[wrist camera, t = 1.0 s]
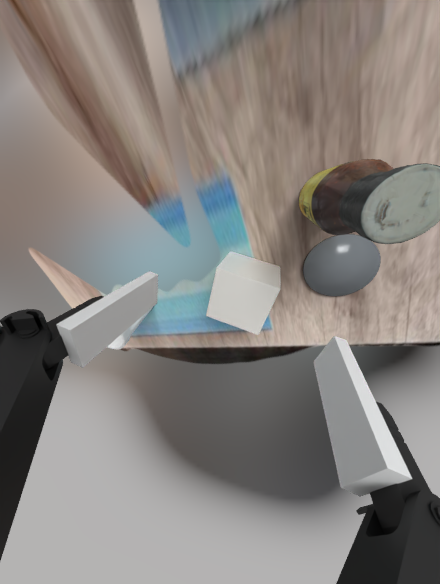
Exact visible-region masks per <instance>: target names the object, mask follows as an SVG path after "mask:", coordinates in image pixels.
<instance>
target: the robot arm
mask: <svg viewBox="0 0 440 584" xmlns="http://www.w3.org/2000/svg"><path fill="white" fill-rule="evenodd" d="M157 291H158V274H155V273H153V272H150V271H149V272H147V273H145V274H144V275H142V276H140V277H139V278H137V279H135V280H133V281H131V282H130V283H128V284H126V285H124V286H123V287H121V288H119V289H117V290H116V291H114V292H112V293H110V294H109V295H107V296H105V297H103V296H99V297H95V298H92V299H90V300H88V301H86V302H84V303H83V304H81V305H79V306H77V307H76V308H73V309H71V310H69V311H68V312H66V313H64V314H62V315H60V316H58V317H56V318H55V319H53V320H51V321H49V322H46V320H45V317H44V315H43V313H42V312H41V311H39V310H34V309H27V310H21V311H17V312H14V313H11V314H9V315H7V316H5V317H4V318H2V319H1V320H0V322H1V324H2V326H3V327H1V326H0V560H1V557H2V554H3V551H4V548H5V545H6V541H7V538H8V535H9V532H10V528H11V526H12V522H13V519H14V516H15V513H16V510H17V507H18V504H19V501H20V498H21V494H22V491H23V488H24V485H25V482H26V479H27V476H28V472H29V469H30V466H31V463H32V460H33V457H34V454H35V450H36V447H37V444H38V441H39V437H40V434H41V432H42V428H43V425H44V422H45V419H46V416H47V413H48V409H49V406H50V403H51V400H52V397H53V394H54V391H55V387H56V384H57V381H58V378H59V375H60V372H61V369H62V366H63V359H64V358H65V357H66V356H69V358H70V361H71V362H72V363H74V364H76V365H78V366H80V367H84V366H85V365H87V364H88V363H89V362H90V361H91V360H92V359H94V358H95V357H96V356H97V355H98V354H99V353H100V352H102V351H103V350H104V349H105V348H106V347H107V346H108V345H110V344H111V343H112V342H113V341H114V340H115V339H116V338H118V337H119V336H120V335H121V334H122V333H123V332H125V331H126V330H127V329H128V328H129V327H130V326H131V325H133V324H134V323H135V322H136V321H137V320H138V319H139V318H141V317H142V316H143V315H144V314H145V313H146V312H147V311H149V310H150V309H151V308H152V307H153V306H154V305H155V304H157ZM314 366H315V370H316V375H317V380H318V384H319V389H320V393H321V398H322V402H323V407H324V412H325V417H326V421H327V426H328V430H329V435H330V440H331V444H332V449H333V453H334V458H335V463H336V467H337V472H338V477H339V481H340V485H341V488H343V489H345V490H347V491H349V492H352V493H354V494H356V495H358V496H363V495H366V494H369V493H370V495H371V498H372V501H373V504H371V505H368V506H364V507H360V508H359V509H358V510H357V513H358V514H363V513H366V514H365V517H364V519H363V521H362V524H361V526H360V528H359V531H358V533H357V536H356V538H355V540H354V543H353V545H352V548H351V550H350V552H349V555H348V557H347V559H346V562H345V564H344V567H343V569H342V571H341V574H340V576H339V579H338V581H337V583H336V584H440V498H439V497H437V496H436V495H434V494H432V492H431V491H430V489H429V487H428V485H427V483H426V481H425V479H424V478H423V476H422V474H421V472H420V470H419V468H418V466H417V464H416V462H415V460H414V458H413V456H412V454H411V452H410V451H409V449H408V447H407V445H406V443H404V439H403V437H402V435H401V433H400V432H399V431H398V427H397V425H396V424H395V422H394V420H393V418H392V416H391V415H390V414H389V412H388V411H387V410H386V409H385V407H384V406H383V405H382V404H381V403H378V402H376V401H375V399H374V397H373V395H372V393H371V391H370V389H369V387H368V385H367V383H366V381H365V378H364V376H363V374H362V372H361V370H360V368H359V366H358V364H357V362H356V360H355V358H354V355H353V353H352V351H351V349H350V347H349V345H348V343H347V341H346V340H345V339H342V338H339V337H336V336H334V337H333V338H332V339H331V340H330V342H329V343H328V344H327V345H326V347H325V348H324V349H323V350H322V352H321V353H320V354H319V356H318V357H317V358H316V359H315V361H314Z"/></svg>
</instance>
